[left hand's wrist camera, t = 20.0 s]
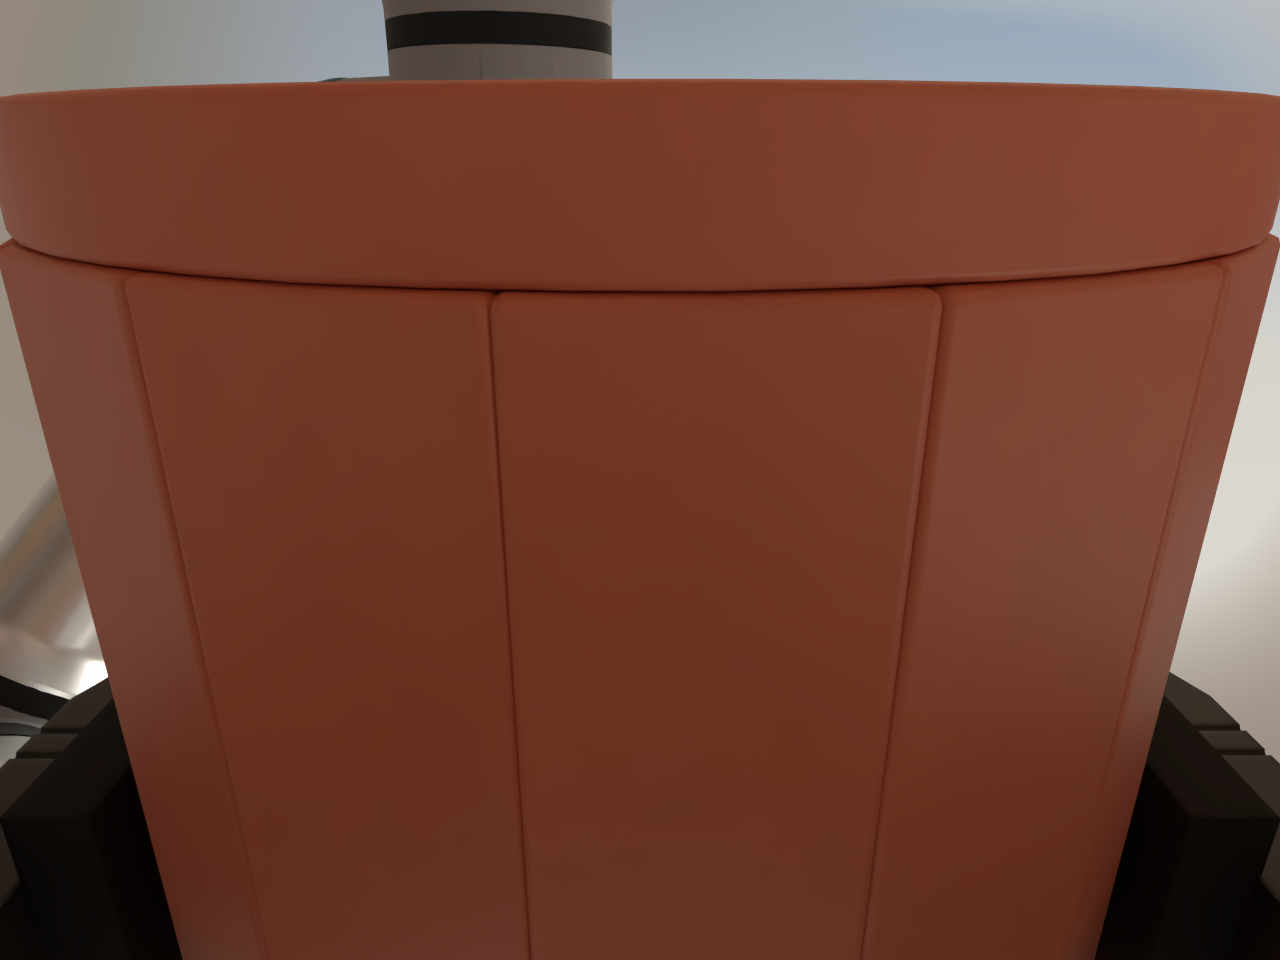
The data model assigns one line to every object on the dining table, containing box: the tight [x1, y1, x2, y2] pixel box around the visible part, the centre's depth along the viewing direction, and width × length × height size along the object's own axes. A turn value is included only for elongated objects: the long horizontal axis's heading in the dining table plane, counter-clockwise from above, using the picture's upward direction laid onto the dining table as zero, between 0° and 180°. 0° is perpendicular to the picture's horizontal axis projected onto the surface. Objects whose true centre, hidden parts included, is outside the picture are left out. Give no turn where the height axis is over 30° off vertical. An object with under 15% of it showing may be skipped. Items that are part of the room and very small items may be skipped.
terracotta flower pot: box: [0, 79, 1280, 960], centre depth 9 cm, size 9×9×11 cm
